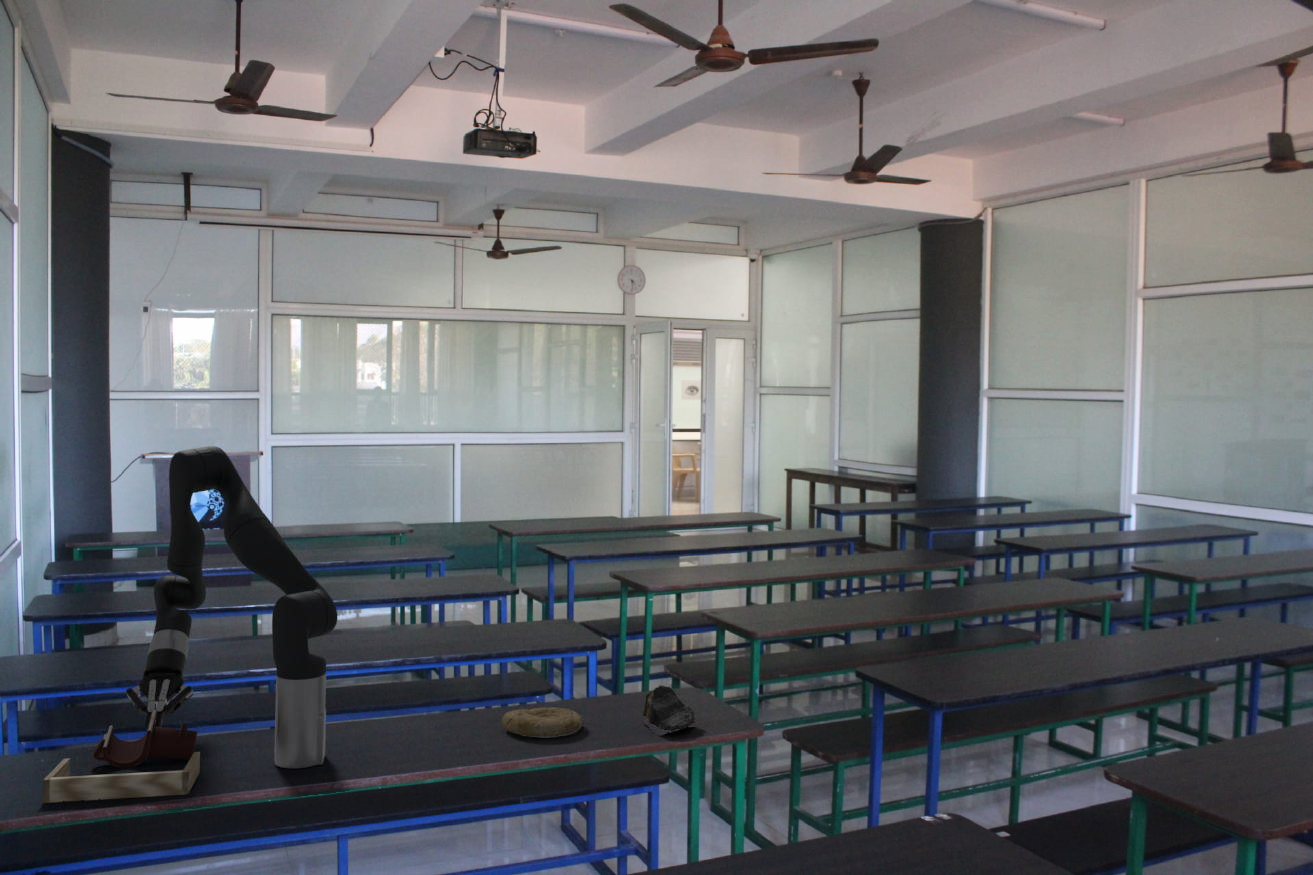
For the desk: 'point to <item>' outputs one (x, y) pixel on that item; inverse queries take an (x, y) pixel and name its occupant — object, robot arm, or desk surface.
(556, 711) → the brown thick ring
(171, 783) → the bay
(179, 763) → the desk surface
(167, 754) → the bracket
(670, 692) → the rock
